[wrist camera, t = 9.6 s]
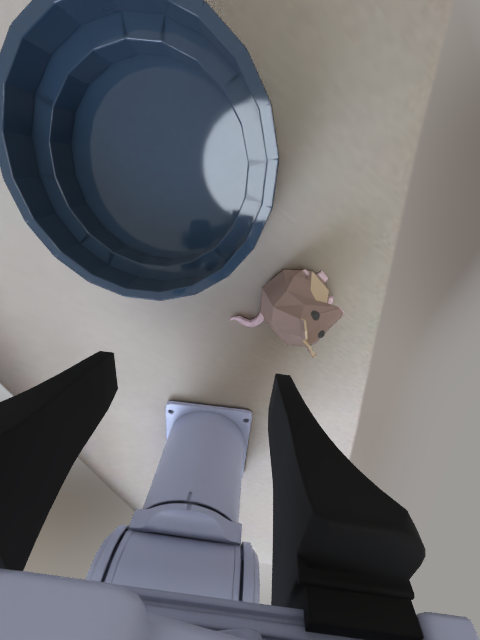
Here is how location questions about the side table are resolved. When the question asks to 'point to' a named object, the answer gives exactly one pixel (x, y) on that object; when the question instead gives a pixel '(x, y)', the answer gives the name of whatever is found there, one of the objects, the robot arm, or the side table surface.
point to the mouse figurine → (297, 307)
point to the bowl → (137, 141)
